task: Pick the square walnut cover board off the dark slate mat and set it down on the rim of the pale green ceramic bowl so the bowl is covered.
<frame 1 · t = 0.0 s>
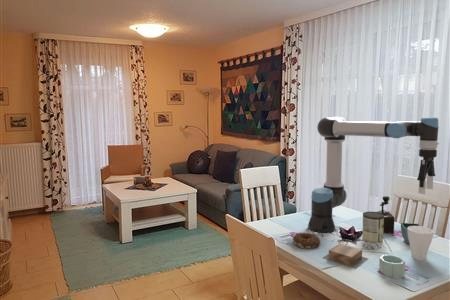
hand: (425, 191, 169), 28 cm above the table, fingers open, 13 cm apart
bowl: (391, 272, 144), on the table
mat: (345, 259, 157), on the table
cover board: (345, 258, 157), point 1 cm above the table, touching mat
coffee can: (372, 240, 180), on the table
donut: (306, 245, 175), on the table
cup: (418, 257, 158), on the table
flower pot: (411, 243, 176), on the table
coffee grinder: (381, 228, 197), on the table
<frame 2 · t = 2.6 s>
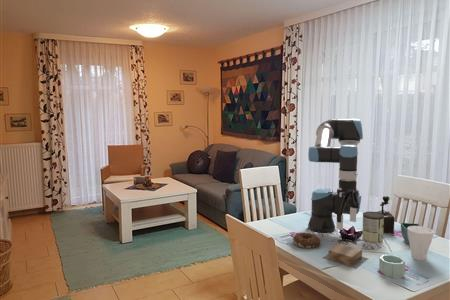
hand: (346, 225, 155), 17 cm above the table, fingers open, 13 cm apart
nothing on the table moved.
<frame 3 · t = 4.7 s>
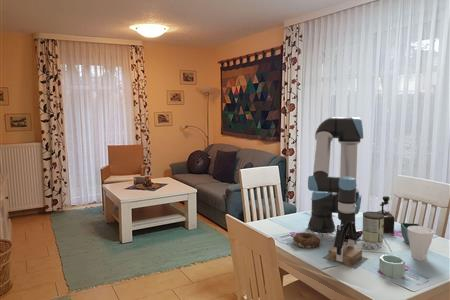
hand: (345, 256, 157), 1 cm above the table, fingers closed on cover board, 11 cm apart
cover board: (345, 258, 157), point 1 cm above the table, touching gripper, mat
everything else where it was.
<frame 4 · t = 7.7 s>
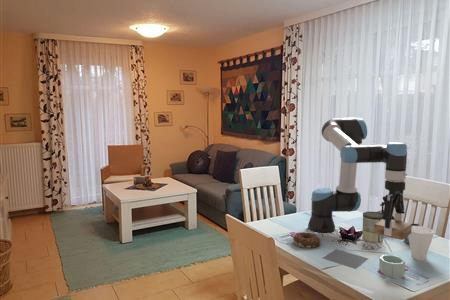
hand: (392, 231, 142), 18 cm above the table, fingers closed on cover board, 11 cm apart
cover board: (392, 233, 142), point 17 cm above the table, touching gripper
everything else where it was.
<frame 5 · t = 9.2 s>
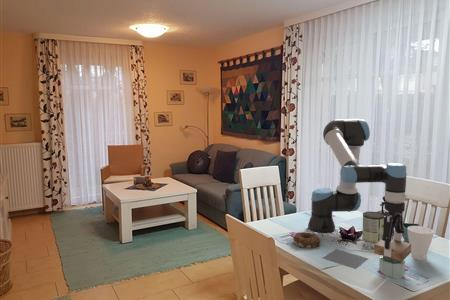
hand: (392, 251, 143), 9 cm above the table, fingers closed on cover board, 11 cm apart
cover board: (392, 253, 143), point 9 cm above the table, touching gripper
everything else where it was.
when the fingers open (8 cm above the table, at t = 10.5 s): cover board drops 2 cm, resting on bowl.
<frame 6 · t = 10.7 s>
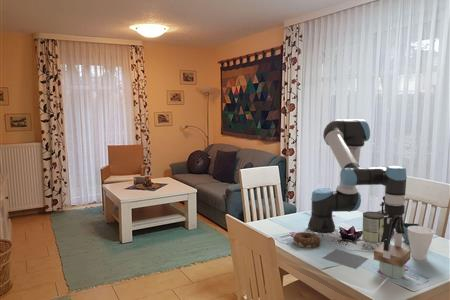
hand: (392, 252, 143), 9 cm above the table, fingers open, 13 cm apart
cover board: (392, 259, 144), point 6 cm above the table, touching bowl
everything else where it was.
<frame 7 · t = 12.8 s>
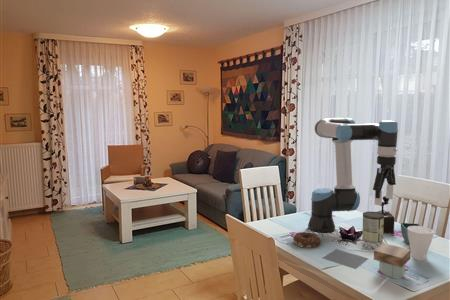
hand: (383, 201, 154), 27 cm above the table, fingers open, 13 cm apart
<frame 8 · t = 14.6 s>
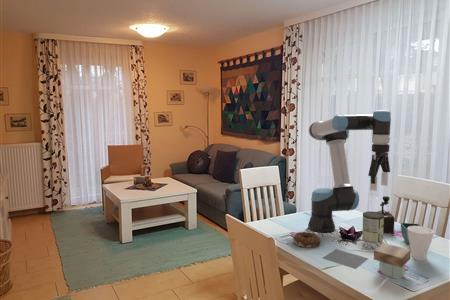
hand: (378, 187, 162), 32 cm above the table, fingers open, 13 cm apart
at the end: cover board 0.0 cm off-centre on the bowl, point 6.0 cm above the bowl's base; cover board tilted 0°; the gripper is holding nothing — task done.
